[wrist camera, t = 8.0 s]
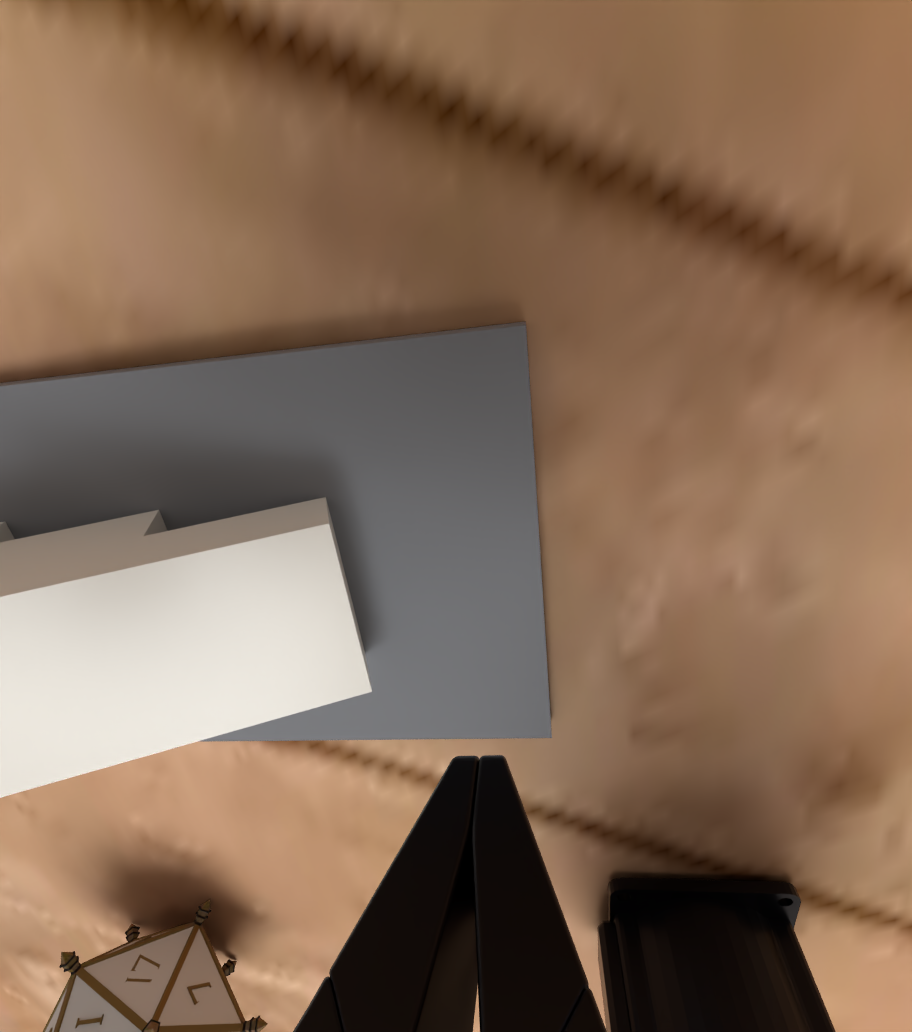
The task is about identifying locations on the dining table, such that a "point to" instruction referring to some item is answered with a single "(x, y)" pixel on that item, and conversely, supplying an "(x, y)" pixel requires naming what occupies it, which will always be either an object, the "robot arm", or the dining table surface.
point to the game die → (152, 986)
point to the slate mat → (332, 502)
